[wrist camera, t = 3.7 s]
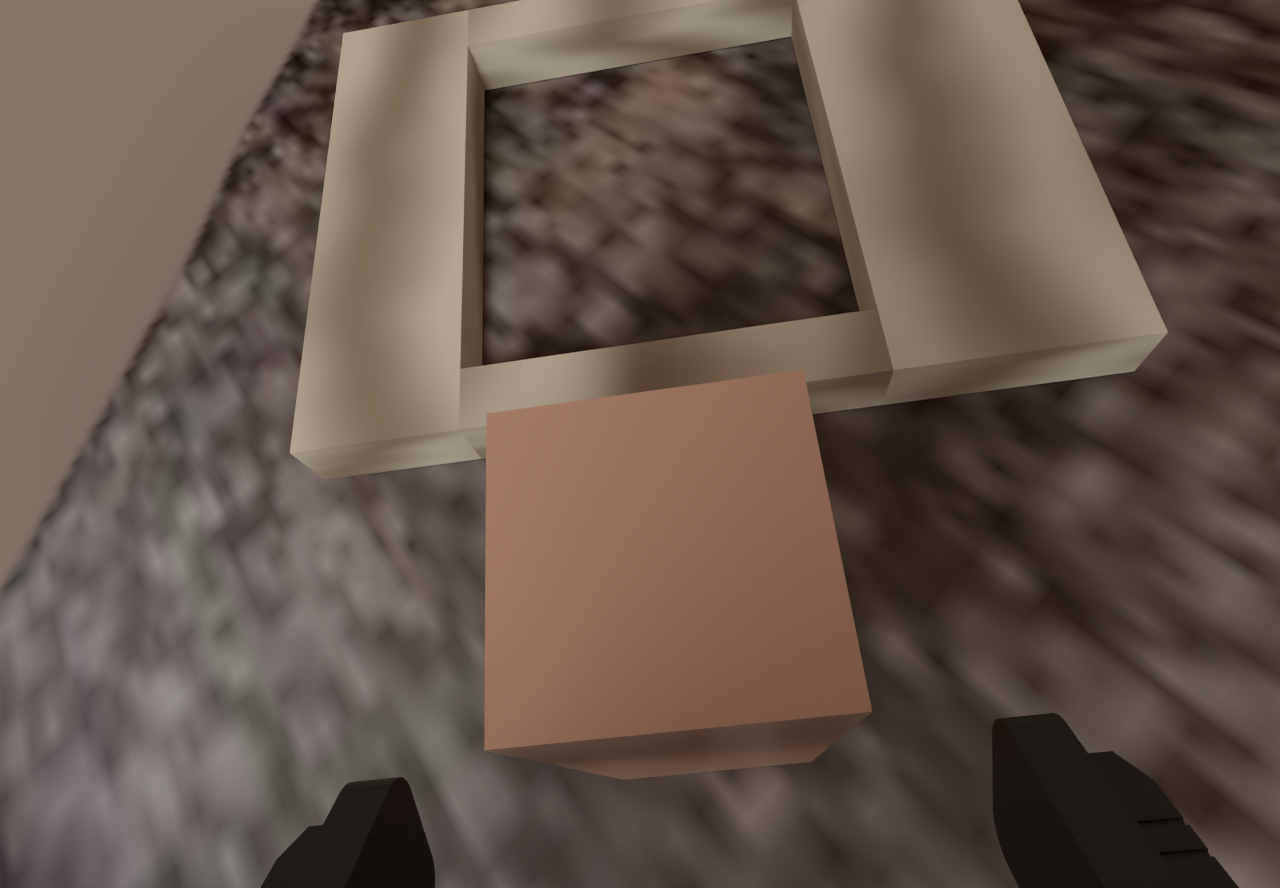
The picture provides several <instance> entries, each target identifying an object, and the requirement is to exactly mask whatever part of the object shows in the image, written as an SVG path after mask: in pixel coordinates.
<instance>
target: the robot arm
mask: <svg viewBox="0 0 1280 888" xmlns="http://www.w3.org/2000/svg"><path fill="white" fill-rule="evenodd" d="M992 756H993V815H994V822H995V827H996V832H997V836H998V839H999V843H1000V846H1001V849H1002V852H1003V854H1004V857H1005V860H1006V862H1007V864H1008V866H1009V868H1010V870H1011V872H1012V874H1013V876H1014V878H1015V880H1016V883H1017V885H1018V887H1019V888H1239V887H1238V886H1237V885H1236V884H1235V882H1234V881H1233V880H1232V879H1231V877H1230V876H1229V875H1228V873H1227V872H1226V871H1225V870H1224V868H1223V867H1222V866H1221V865H1220V863H1219V862H1218V861H1217V860H1216V858H1215V857H1211V856H1210V855H1209V853H1208V848H1207V847H1206V846H1205V844H1204V843H1203V842H1202V841H1201V839H1200V838H1199V837H1198V836H1197V834H1196V833H1195V832H1194V831H1193V829H1192V828H1191V827H1190V825H1186V824H1185V823H1184V821H1183V817H1182V815H1181V814H1180V813H1179V812H1178V810H1177V809H1176V808H1175V807H1174V805H1173V804H1172V803H1171V801H1170V800H1169V799H1168V798H1167V796H1166V795H1165V794H1164V793H1163V791H1162V790H1161V789H1160V788H1159V786H1158V785H1157V784H1156V783H1155V781H1154V780H1153V779H1151V778H1150V777H1148V776H1147V775H1145V774H1144V773H1143V772H1141V771H1140V770H1138V769H1137V768H1135V767H1134V766H1133V765H1131V764H1130V763H1128V762H1127V761H1125V760H1124V759H1123V758H1121V757H1120V756H1118V755H1117V754H1115V753H1114V752H1113V751H1109V752H1099V753H1087V751H1086V750H1085V749H1084V747H1083V746H1082V744H1081V743H1080V742H1079V740H1078V739H1077V737H1076V736H1075V735H1074V733H1073V732H1072V730H1071V729H1070V728H1069V726H1068V725H1067V723H1066V722H1065V721H1064V720H1063V718H1062V717H1060V716H1059V715H1058V714H1055V713H1050V714H1040V715H1030V716H1020V717H1011V718H1001V719H996V720H995V721H994V724H993V730H992ZM261 888H435V870H434V862H433V858H432V854H431V851H430V848H429V845H428V841H427V838H426V835H425V832H424V829H423V826H422V823H421V820H420V816H419V813H418V810H417V807H416V804H415V801H414V798H413V794H412V791H411V788H410V786H409V784H408V782H407V781H406V780H405V779H404V778H402V777H397V778H387V779H377V780H368V781H358V782H350V783H348V784H347V785H345V786H344V788H343V789H342V790H341V792H340V794H339V795H338V797H337V799H336V801H335V803H334V805H333V807H332V809H331V811H330V813H329V814H328V816H327V818H326V820H325V822H324V824H323V825H319V826H309V827H308V828H307V829H306V830H305V831H304V832H303V833H302V834H301V835H300V836H299V837H298V838H297V839H296V840H295V841H294V842H293V843H292V844H291V845H290V846H289V847H288V848H287V849H286V850H285V852H284V853H283V854H282V855H281V856H280V857H279V858H278V859H277V860H276V862H275V863H274V865H273V867H272V869H271V870H270V872H269V874H268V876H267V877H266V879H265V881H264V883H263V884H262V886H261Z"/></svg>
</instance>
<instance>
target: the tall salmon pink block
mask: <svg viewBox="0 0 1280 888" xmlns="http://www.w3.org/2000/svg"><path fill="white" fill-rule="evenodd" d="M871 712H872V708H871V703H870V698H869V693H868V688H867V683H866V678H865V673H864V668H863V663H862V658H861V653H860V648H859V643H858V638H857V633H856V629H855V624H854V619H853V614H852V609H851V604H850V599H849V594H848V589H847V584H846V579H845V574H844V569H843V564H842V559H841V554H840V549H839V544H838V539H837V534H836V529H835V524H834V519H833V514H832V509H831V505H830V500H829V495H828V490H827V485H826V480H825V475H824V470H823V465H822V460H821V455H820V450H819V445H818V440H817V435H816V430H815V425H814V420H813V415H812V410H811V405H810V400H809V395H808V390H807V385H806V381H805V376H804V371H803V370H797V371H790V372H783V373H776V374H769V375H761V376H754V377H747V378H740V379H732V380H725V381H718V382H711V383H703V384H696V385H689V386H682V387H674V388H667V389H660V390H653V391H646V392H638V393H631V394H624V395H617V396H609V397H602V398H595V399H588V400H580V401H573V402H566V403H559V404H551V405H544V406H537V407H530V408H523V409H515V410H508V411H501V412H494V413H486V571H485V748H484V750H485V751H490V752H495V753H499V754H504V755H509V756H514V757H518V758H523V759H528V760H533V761H537V762H542V763H547V764H552V765H556V766H561V767H566V768H571V769H575V770H580V771H585V772H589V773H594V774H599V775H604V776H608V777H613V778H618V779H623V780H627V779H637V778H648V777H659V776H669V775H680V774H690V773H701V772H711V771H722V770H732V769H743V768H753V767H764V766H775V765H785V764H796V763H806V762H812V761H813V760H814V759H815V758H816V757H818V756H819V755H820V754H821V753H823V752H824V751H825V750H826V749H827V748H829V747H830V746H831V745H832V744H834V743H835V742H836V741H837V740H838V739H840V738H841V737H842V736H843V735H844V734H846V733H847V732H848V731H849V730H851V729H852V728H853V727H854V726H855V725H857V724H858V723H859V722H860V721H862V720H863V719H864V718H865V717H866V716H868V715H869V714H870V713H871Z"/></svg>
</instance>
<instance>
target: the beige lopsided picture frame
mask: <svg viewBox="0 0 1280 888" xmlns="http://www.w3.org/2000/svg"><path fill="white" fill-rule="evenodd" d="M785 37H791V38H792V42H793V46H794V50H795V54H796V58H797V62H798V66H799V70H800V74H801V78H802V83H803V87H804V91H805V95H806V99H807V103H808V107H809V111H810V115H811V119H812V123H813V127H814V131H815V135H816V139H817V143H818V147H819V151H820V155H821V159H822V163H823V167H824V171H825V175H826V179H827V183H828V187H829V191H830V195H831V199H832V203H833V207H834V211H835V215H836V219H837V223H838V227H839V232H840V236H841V240H842V244H843V248H844V252H845V256H846V260H847V264H848V268H849V272H850V276H851V280H852V284H853V288H854V292H855V296H856V300H857V304H858V308H859V311H857V312H850V313H843V314H837V315H830V316H823V317H816V318H809V319H802V320H795V321H788V322H781V323H774V324H767V325H760V326H753V327H747V328H740V329H733V330H726V331H719V332H712V333H705V334H698V335H691V336H684V337H677V338H670V339H663V340H657V341H650V342H643V343H636V344H629V345H622V346H615V347H608V348H601V349H594V350H587V351H580V352H573V353H567V354H560V355H553V356H546V357H539V358H532V359H525V360H518V361H511V362H504V363H497V364H490V365H483V366H482V346H483V228H484V110H485V90H490V89H496V88H501V87H507V86H513V85H518V84H524V83H530V82H535V81H541V80H547V79H553V78H558V77H564V76H570V75H575V74H581V73H587V72H592V71H598V70H604V69H609V68H615V67H621V66H626V65H632V64H638V63H643V62H649V61H655V60H660V59H666V58H672V57H677V56H683V55H689V54H694V53H700V52H706V51H711V50H717V49H723V48H729V47H734V46H740V45H746V44H751V43H757V42H763V41H768V40H774V39H780V38H785ZM1167 333H1168V331H1167V329H1166V327H1165V325H1164V323H1163V320H1162V318H1161V316H1160V314H1159V312H1158V309H1157V307H1156V305H1155V303H1154V301H1153V298H1152V296H1151V294H1150V292H1149V289H1148V287H1147V285H1146V283H1145V281H1144V278H1143V276H1142V274H1141V272H1140V270H1139V267H1138V265H1137V263H1136V261H1135V259H1134V256H1133V254H1132V252H1131V250H1130V247H1129V245H1128V243H1127V241H1126V239H1125V236H1124V234H1123V232H1122V230H1121V228H1120V225H1119V223H1118V221H1117V219H1116V216H1115V214H1114V212H1113V210H1112V208H1111V205H1110V203H1109V201H1108V199H1107V197H1106V194H1105V192H1104V190H1103V188H1102V186H1101V183H1100V181H1099V179H1098V177H1097V174H1096V172H1095V170H1094V168H1093V166H1092V163H1091V161H1090V159H1089V157H1088V155H1087V152H1086V150H1085V148H1084V146H1083V144H1082V141H1081V139H1080V137H1079V135H1078V132H1077V130H1076V128H1075V126H1074V124H1073V121H1072V119H1071V117H1070V115H1069V113H1068V110H1067V108H1066V106H1065V104H1064V102H1063V99H1062V97H1061V95H1060V93H1059V90H1058V88H1057V86H1056V84H1055V82H1054V79H1053V77H1052V75H1051V73H1050V71H1049V68H1048V66H1047V64H1046V62H1045V60H1044V57H1043V55H1042V53H1041V51H1040V48H1039V46H1038V44H1037V42H1036V40H1035V37H1034V35H1033V33H1032V31H1031V29H1030V26H1029V24H1028V22H1027V20H1026V17H1025V15H1024V13H1023V11H1022V9H1021V6H1020V4H1019V2H1018V0H521V1H515V2H510V3H505V4H499V5H494V6H488V7H483V8H478V9H472V10H467V11H462V12H456V13H451V14H445V15H440V16H435V17H429V18H424V19H418V20H413V21H408V22H402V23H397V24H392V25H386V26H381V27H375V28H370V29H365V30H359V31H354V32H349V33H343V40H342V48H341V56H340V64H339V72H338V79H337V87H336V95H335V103H334V111H333V119H332V126H331V134H330V142H329V150H328V158H327V166H326V173H325V181H324V189H323V197H322V205H321V212H320V220H319V228H318V236H317V244H316V252H315V259H314V267H313V275H312V283H311V291H310V299H309V306H308V314H307V322H306V330H305V338H304V346H303V353H302V361H301V369H300V377H299V385H298V393H297V400H296V408H295V416H294V424H293V432H292V440H291V447H290V454H292V455H293V456H294V457H296V458H297V459H298V460H300V461H301V462H302V463H303V464H305V465H306V466H307V467H309V468H310V469H311V470H313V471H314V472H315V473H317V474H318V475H319V476H321V477H322V478H323V479H325V480H326V479H333V478H341V477H348V476H356V475H363V474H371V473H378V472H386V471H393V470H401V469H408V468H416V467H423V466H431V465H438V464H446V463H453V462H461V461H468V460H476V459H483V458H486V413H494V412H501V411H508V410H515V409H523V408H530V407H537V406H544V405H551V404H559V403H566V402H573V401H580V400H588V399H595V398H602V397H609V396H617V395H624V394H631V393H638V392H646V391H653V390H660V389H667V388H674V387H682V386H689V385H696V384H703V383H711V382H718V381H725V380H732V379H740V378H747V377H754V376H761V375H769V374H776V373H783V372H790V371H797V370H803V371H804V376H805V381H806V385H807V390H808V395H809V400H810V405H811V410H812V414H820V413H827V412H834V411H842V410H849V409H857V408H864V407H872V406H879V405H887V404H894V403H902V402H909V401H917V400H924V399H932V398H939V397H947V396H954V395H962V394H969V393H977V392H984V391H991V390H999V389H1006V388H1014V387H1021V386H1029V385H1036V384H1044V383H1051V382H1059V381H1066V380H1074V379H1081V378H1089V377H1096V376H1104V375H1111V374H1119V373H1126V372H1134V371H1135V370H1136V369H1137V368H1138V366H1139V365H1140V364H1141V363H1142V362H1143V361H1144V359H1145V358H1146V357H1147V356H1148V355H1149V354H1150V353H1151V351H1152V350H1153V349H1154V348H1155V347H1156V346H1157V344H1158V343H1159V342H1160V341H1161V340H1162V339H1163V337H1164V336H1165V335H1166V334H1167Z"/></svg>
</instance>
